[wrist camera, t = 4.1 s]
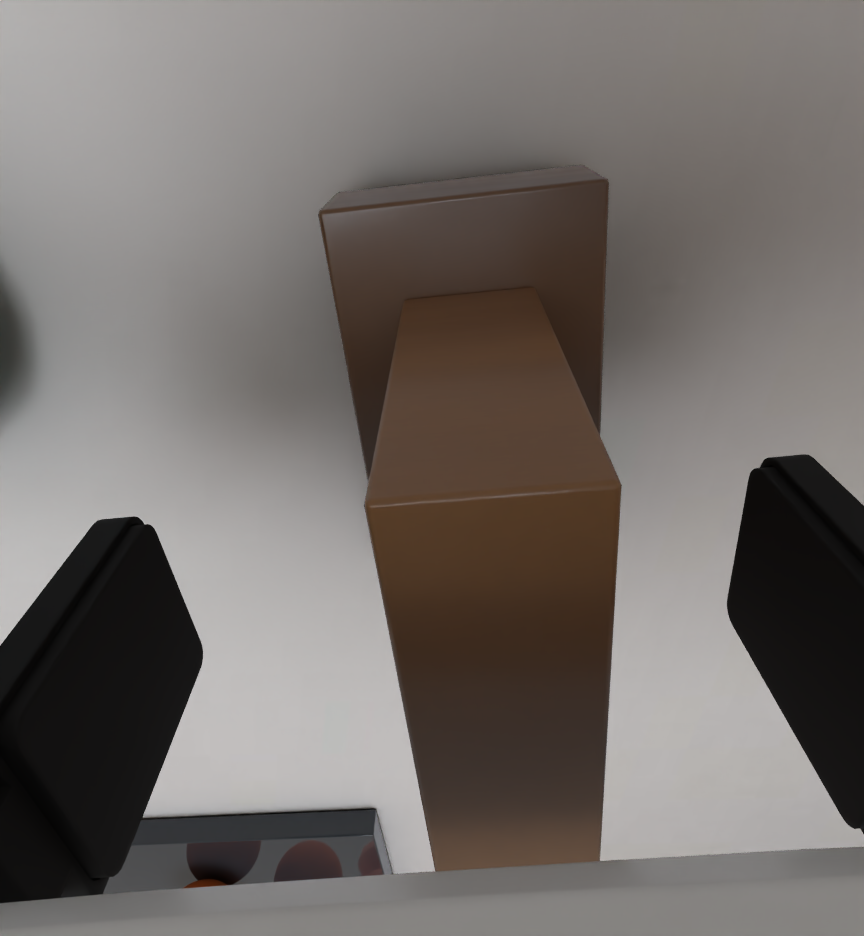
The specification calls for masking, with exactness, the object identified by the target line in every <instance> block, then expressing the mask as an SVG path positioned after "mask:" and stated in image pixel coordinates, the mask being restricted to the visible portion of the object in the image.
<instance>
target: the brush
mask: <svg viewBox="0 0 864 936" xmlns="http://www.w3.org/2000/svg"><path fill="white" fill-rule="evenodd" d="M608 199H609V181H608V179H606V178H605V177H603V176H601V175H600V174H598V173H596V172H594V171H593V170H591V169H589V168H588V167H586V166H584V165H575V166H566V167H557V168H549V169H540V170H531V171H522V172H513V173H504V174H495V175H487V176H478V177H469V178H460V179H451V180H442V181H433V182H424V183H416V184H407V185H398V186H389V187H380V188H371V189H362V190H353V191H345V192H338V193H337V194H336V195H335V196H334V197H333V198H332V199H331V200H330V201H329V202H328V203H327V204H326V205H325V206H324V207H323V208H322V209H321V210H320V211H319V214H318V216H319V221H320V227H321V232H322V237H323V243H324V248H325V254H326V259H327V264H328V270H329V275H330V280H331V286H332V291H333V296H334V302H335V307H336V313H337V318H338V323H339V329H340V334H341V339H342V345H343V350H344V355H345V361H346V366H347V372H348V377H349V382H350V388H351V393H352V398H353V404H354V409H355V414H356V420H357V425H358V431H359V436H360V441H361V447H362V452H363V457H364V463H365V468H366V473H367V479H368V488H367V493H366V498H365V504H364V507H365V512H366V517H367V522H368V527H369V532H370V537H371V543H372V548H373V553H374V558H375V563H376V568H377V573H378V579H379V584H380V589H381V594H382V599H383V604H384V609H385V615H386V620H387V625H388V630H389V635H390V640H391V645H392V651H393V656H394V661H395V666H396V671H397V676H398V681H399V687H400V692H401V697H402V702H403V707H404V712H405V717H406V723H407V728H408V733H409V738H410V743H411V748H412V753H413V759H414V764H415V769H416V774H417V779H418V784H419V789H420V795H421V800H422V805H423V810H424V815H425V820H426V825H427V831H428V836H429V841H430V846H431V851H432V856H433V861H434V867H435V872H436V871H451V870H467V869H483V868H499V867H515V866H531V865H547V864H562V863H578V862H595V861H600V850H601V832H602V815H603V798H604V780H605V763H606V746H607V728H608V711H609V694H610V676H611V659H612V642H613V624H614V607H615V590H616V572H617V555H618V538H619V520H620V503H621V486H622V485H621V483H620V480H619V478H618V476H617V474H616V471H615V469H614V467H613V465H612V462H611V460H610V458H609V455H608V453H607V451H606V449H605V446H604V444H603V442H602V440H601V437H600V426H601V397H602V369H603V341H604V313H605V284H606V256H607V228H608Z"/></svg>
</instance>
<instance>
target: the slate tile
mask: <svg viewBox="0 0 864 936" xmlns="http://www.w3.org/2000/svg"><path fill="white" fill-rule="evenodd" d="M389 874H392V870H391V866H390V863H389V859H388V855H387V851H386V847H385V843H384V840H383V836H382V832H381V828H380V824H379V821H378V817H377V813H376V810H353V811H330V812H307V813H284V814H262V815H239V816H216V817H193V818H171V819H148V820H141V822H140V824H139V827H138V830H137V832H136V835H135V837H134V840H133V842H132V845H131V847H130V850H129V853H128V855H127V858H126V860H125V863H124V865H123V867H122V869H121V870H120V871H119V873H118V874H117V875H115V876H114V877H109V880H108V882H107V885H106V887H105V890H104V892H103V894H112V893H125V892H139V891H154V890H168V889H182V888H184V887H185V886H187V885H189V884H191V883H193V882H195V881H198V880H202V879H215V880H218V881H221V882H223V883H225V884H227V885H240V884H255V883H269V882H284V881H298V880H312V879H327V878H343V877H358V876H374V875H389Z"/></svg>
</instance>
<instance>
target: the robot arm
mask: <svg viewBox="0 0 864 936" xmlns="http://www.w3.org/2000/svg"><path fill="white" fill-rule="evenodd" d="M727 609H728V615H729V618H730V621H731V623H732V625H733V627H734V629H735V630H736V632H737V634H738V636H739V637H740V639H741V641H742V643H743V644H744V646H745V648H746V650H747V651H748V653H749V655H750V657H751V658H752V660H753V662H754V664H755V665H756V667H757V669H758V671H759V672H760V674H761V676H762V678H763V679H764V681H765V683H766V685H767V686H768V688H769V690H770V692H771V693H772V695H773V697H774V699H775V700H776V702H777V704H778V706H779V707H780V709H781V711H782V713H783V714H784V716H785V718H786V720H787V722H788V723H789V725H790V727H791V729H792V730H793V732H794V734H795V736H796V737H797V739H798V741H799V743H800V744H801V746H802V748H803V750H804V751H805V753H806V755H807V757H808V758H809V760H810V762H811V764H812V765H813V767H814V769H815V771H816V772H817V774H818V776H819V778H820V779H821V781H822V783H823V785H824V786H825V788H826V790H827V792H828V793H829V795H830V797H831V799H832V800H833V802H834V804H835V806H836V807H837V809H838V811H839V813H840V814H841V816H842V817H843V819H844V820H845V822H846V823H847V824H848V825H849V826H850V827H852V828H854V829H857V828H861V830H862V832H863V834H864V506H863V505H862V504H861V503H860V502H859V501H858V500H857V499H856V498H855V497H854V496H853V495H852V494H851V493H850V492H849V491H848V490H846V489H845V488H844V487H843V486H842V485H841V484H840V483H839V482H838V481H837V480H836V479H835V478H834V477H833V476H832V475H831V474H830V473H829V472H828V471H827V470H825V469H824V468H823V467H822V466H821V465H820V464H819V463H818V462H817V461H816V460H815V459H814V458H813V457H811V456H810V455H793V456H782V457H771V458H767V459H765V460H764V461H763V463H762V464H761V467H760V468H755V469H753V470H752V471H751V473H750V476H749V480H748V486H747V491H746V497H745V503H744V508H743V514H742V520H741V525H740V531H739V536H738V542H737V548H736V553H735V559H734V565H733V570H732V576H731V582H730V587H729V593H728V598H727ZM202 660H203V649H202V644H201V641H200V639H199V636H198V634H197V631H196V629H195V626H194V624H193V622H192V619H191V617H190V614H189V612H188V609H187V607H186V604H185V602H184V599H183V597H182V595H181V592H180V590H179V587H178V585H177V582H176V580H175V577H174V575H173V572H172V570H171V568H170V565H169V563H168V560H167V558H166V555H165V553H164V550H163V548H162V545H161V543H160V541H159V538H158V536H157V533H156V531H155V529H154V528H153V527H152V526H151V525H148V524H146V525H144V523H143V521H142V520H141V519H140V518H138V517H124V518H113V519H102V520H99V521H97V522H96V523H94V524H93V525H92V527H91V528H90V529H89V531H88V532H87V533H86V535H85V536H84V537H83V539H82V540H81V541H80V542H79V544H78V545H77V546H76V548H75V549H74V550H73V552H72V553H71V554H70V556H69V557H68V558H67V559H66V561H65V562H64V563H63V565H62V566H61V567H60V569H59V570H58V571H57V572H56V574H55V575H54V576H53V578H52V579H51V580H50V582H49V583H48V584H47V586H46V587H45V588H44V589H43V591H42V592H41V593H40V595H39V596H38V597H37V599H36V600H35V601H34V602H33V604H32V605H31V606H30V608H29V609H28V610H27V612H26V613H25V614H24V616H23V617H22V618H21V619H20V621H19V622H18V623H17V625H16V626H15V627H14V629H13V630H12V631H11V633H10V634H9V635H8V636H7V638H6V639H5V640H4V642H3V643H2V644H1V646H0V936H864V847H850V848H825V849H801V850H784V851H767V852H750V853H732V854H715V855H698V856H681V857H664V858H647V859H630V860H612V861H595V862H578V863H562V864H547V865H531V866H515V867H499V868H483V869H467V870H451V871H436V872H420V873H405V874H389V875H374V876H358V877H343V878H327V879H312V880H298V881H284V882H269V883H255V884H240V885H226V886H211V887H197V888H182V889H168V890H154V891H139V892H125V893H112V894H103V892H104V890H105V887H106V885H107V882H108V880H109V877H114V876H115V875H117V874H118V873H119V871H120V870H121V869H122V867H123V865H124V863H125V860H126V858H127V855H128V853H129V850H130V847H131V845H132V842H133V840H134V837H135V835H136V832H137V830H138V827H139V824H140V822H141V819H142V817H143V814H144V812H145V809H146V806H147V804H148V801H149V799H150V796H151V794H152V791H153V789H154V786H155V783H156V781H157V778H158V776H159V773H160V771H161V768H162V766H163V763H164V760H165V758H166V755H167V753H168V750H169V748H170V745H171V743H172V740H173V737H174V735H175V732H176V730H177V727H178V725H179V722H180V719H181V717H182V714H183V712H184V709H185V707H186V704H187V702H188V699H189V696H190V694H191V691H192V689H193V686H194V684H195V681H196V679H197V676H198V673H199V671H200V668H201V665H202Z"/></svg>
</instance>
